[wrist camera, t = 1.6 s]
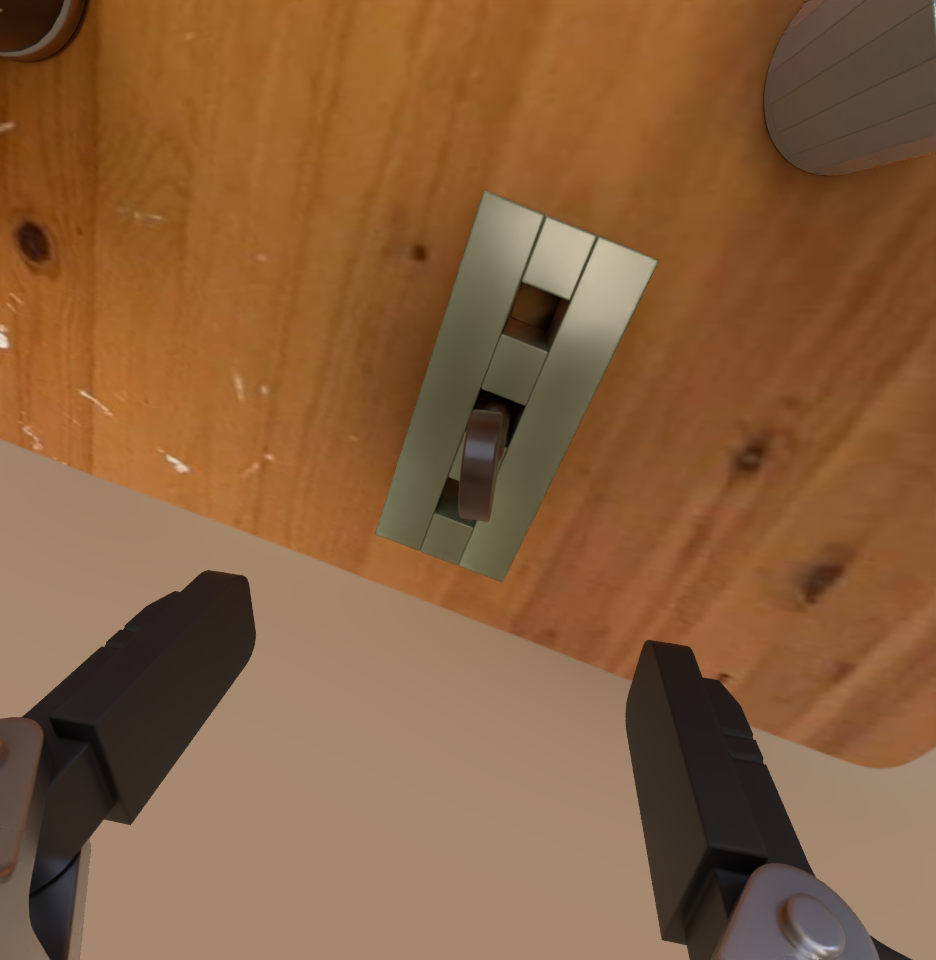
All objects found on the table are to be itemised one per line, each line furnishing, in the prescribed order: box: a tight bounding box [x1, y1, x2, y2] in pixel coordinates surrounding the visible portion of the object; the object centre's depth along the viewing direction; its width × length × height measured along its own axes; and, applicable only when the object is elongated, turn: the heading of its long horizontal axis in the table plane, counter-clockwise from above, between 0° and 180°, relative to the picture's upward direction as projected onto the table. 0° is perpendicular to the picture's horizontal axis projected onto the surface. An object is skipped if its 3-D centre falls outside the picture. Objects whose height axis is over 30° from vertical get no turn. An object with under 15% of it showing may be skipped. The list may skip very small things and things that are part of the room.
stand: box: [375, 191, 659, 582], centre depth 26 cm, size 7×17×6 cm, turn 160°
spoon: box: [458, 392, 513, 522], centre depth 22 cm, size 4×1×14 cm, turn 175°
